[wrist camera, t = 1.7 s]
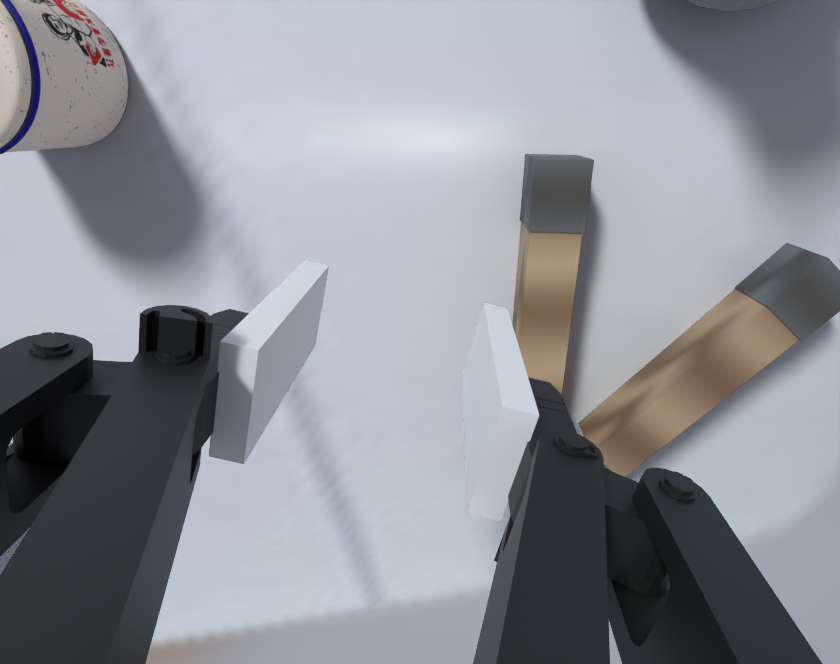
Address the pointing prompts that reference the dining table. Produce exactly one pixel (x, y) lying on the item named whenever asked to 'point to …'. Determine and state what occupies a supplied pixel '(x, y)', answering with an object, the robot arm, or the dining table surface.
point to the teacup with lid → (57, 76)
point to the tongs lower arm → (715, 356)
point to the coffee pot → (731, 4)
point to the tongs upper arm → (549, 260)
